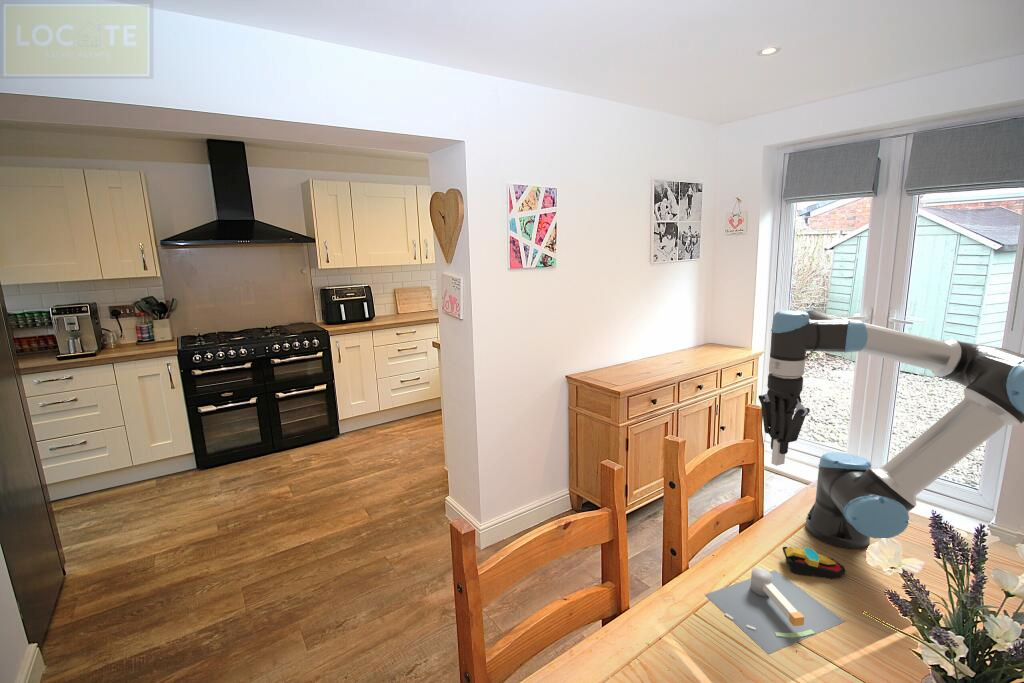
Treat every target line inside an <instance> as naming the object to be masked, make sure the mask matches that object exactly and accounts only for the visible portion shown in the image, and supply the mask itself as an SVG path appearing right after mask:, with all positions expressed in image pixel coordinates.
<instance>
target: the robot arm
mask: <svg viewBox="0 0 1024 683" xmlns="http://www.w3.org/2000/svg"><path fill="white" fill-rule="evenodd" d="M772 318H773V319H772V324H771V329H770V332H771V336H770V337H771V338H770V352H769V363H768V372H769V374H768V375H767V384H766V386H767V388H768V390H767V391H766V393H764V394H760V395H758V400H759V402H760V405H761V412H762V420H763V422H762V423H763V430H764V433H765V434H768V435H769V437H770V438H771V440H770V449H771V451H772V452H771V464H772V465H774V466H776V467H777V466H781V465H784V464H785V462H786V460H785V458H786V454H787V453H788V452H789V444H790V443H793V442H796V441H798V438H799V435H800V432H801V430H802V427H803V424H804V421H805V419H806V417H807V416H808V414H809V413H810V412H811V410H810V408H809V407H805V406H804V404H802V398H801V394H802V391H803V386H804V376H803V375H805V367H806V354H807V352H833V353H853V352H854V353H855V352H858V353H862V354H866V355H870V356H874V357H877V358H882V359H886V360H889V361H894V362H898V363H900V364H901V363H902V364H904V365H909V366H912V367H913V366H914V367H917V368H920V369H925V370H929V371H931V373H932V374H933V375H935V376H936V377H939V378H940V377H941V378H944V379H947V380H950V381H952V382H955V383H957V384H959V385H962V386H964V387H965V388H964V389H963V395H964V398H963V399H962V400H961V401H960V402H959V403H958V404H957V405H956V406H954V407H953V408H952V409H950V411H948V412H947V413H945V414H944V416H942V417H941V418H940V419H938V420H937V421H936V422H935V423H933V424H932V425H931V426H930V427H928V429H926V430H925V431H923V433H922V434H920V435H919V436H918V437H917V438H915V439H914V440H913V441H912V442H911V443H910V444H909V445H907V446H906V447H905V448H904V449H902V450H901V451H899V452H898V453H897V454H896V455H895V456H893V458H891V459H890V460H889V461H887V463H886V464H884V465H883V466H882V467H872V463H871V461H870V460H869V459H866V458H865V457H863V456H859V455H855V454H852V453H844V452H827V453H825V454H822V455H821V456H820V458H819V459H820V460H819V462H818V473H817V481H816V482H817V483H816V491H815V492H816V493H815V501H814V502H813V504H812V506H811V508H810V510H809V512H808V513H807V515H806V519H805V527H806V529H807V531H808V532H809V533H810V534H811V535H812V536H813V537H815V538H816V539H818V540H820V541H822V542H824V543H826V544H828V545H830V546H831V545H832V546H835V547H838V548H843V549H852V550H853V549H855V550H857V549H863V548H865V547H866V546H868V545H870V540H871V538H872V539H881V538H886V539H891V538H894V537H897V536H899V535H900V534H901V535H902V533H904V532H905V531H906V530H907V528H908V526H909V525H910V524H909V521H910V515H909V512H910V511H911V510H913V509H914V508H915V507H917V499H916V498H917V496H918V495H919V494H920V493H921V492H922V491H924V490H925V489H926V488H928V487H929V486H930V485H932V484H933V483H934V482H935V481H937V480H938V479H939V478H940V477H942V476H943V475H944V474H945V473H946V472H948V471H949V470H951V469H952V468H953V467H954V466H956V465H957V464H959V462H960V461H962V460H963V459H964V458H966V457H967V456H969V454H971V453H972V452H973V451H974V450H976V449H977V448H978V447H980V446H981V445H982V444H983V443H985V442H986V441H987V440H988V439H990V438H992V437H993V435H994V434H996V433H997V432H998V431H1000V430H1001V429H1002V428H1003V427H1005V426H1021V424H1023V423H1024V354H1022V353H1019V352H1017V351H1016V352H1015V351H1013V350H1009V349H1007V348H1003V347H996V346H990V345H986V344H985V345H983V344H975V343H969V342H964V341H960V340H955V339H946V340H944V341H943V340H942V341H941V340H937V339H933V338H929V337H925V336H920V335H917V334H913V333H908V332H905V331H901V330H896V329H891V328H887V327H885V326H879V325H876V324H870V323H867V322H863V321H861V320H858V319H857V320H856V319H850V318H846V317H842V316H837V315H833V314H830V313H825V312H822V311H820V310H817V309H809V308H808V309H804V310H780V311H777V312H776V313H774V315H773V317H772Z"/></svg>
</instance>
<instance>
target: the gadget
mask: <svg viewBox="0 0 1024 683" xmlns="http://www.w3.org/2000/svg"><path fill="white" fill-rule="evenodd" d="M782 552H783V554H784V557H785V560H786V563H787V565H788V567H789V570H790V572H791V573H792V574H797V575H801V576H807V577H816V578H817V577H818V578H824V579H830V580H833V579H835V578H838V579H839V578H841V577H842V576H844V575H846V572H847V569H846V568H845V566H844V565H842V564H841V563H839V562H838V561H837V560H835V559H834V558H832V557H827V556H826V555H822V554H820V553H818V552H816V550H815V549H814V548H812V547H809V546H804V547H803V549H802V548H798V547H793V546H788V547H787V546H783V547H782Z"/></svg>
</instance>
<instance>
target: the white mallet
mask: <svg viewBox="0 0 1024 683" xmlns="http://www.w3.org/2000/svg"><path fill="white" fill-rule="evenodd" d="M750 575H751V576H750V579H751V586H750V587H751V590H752V591H753V592H754V593H756V594H758V595H761V596H769V597H770V598H771V600H772V601H773V602H774V603H775V604H776V605H777V606H778V607H779V609H780V610H781V611H782V612H783V613H784V614H785V615H786V617H787V618H788V619H789V621H790V623H791V624H792V625H793V626H801V625H804V616H803V615H802V614H801V613H800V612H798V611H797V610H796V609H795V608H794V607H793V606H792V605H791V603H790V602H789V601H788V600H787V599H786V598H785V597H784V596H783V595H782V594H781V593H780V592H779V591H778V589H777V588H776V587H775V586H774V585H773V584H772V579H773V577H772V574H771V573H770V571H768V570H767V569H764V568H759V567H757V568H753V569H752V570H751V574H750Z"/></svg>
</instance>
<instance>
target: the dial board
mask: <svg viewBox="0 0 1024 683" xmlns="http://www.w3.org/2000/svg"><path fill="white" fill-rule="evenodd" d="M769 572H770V573H771V574H772V577H773V579H772V584H773V585H774V586H775V587H776V588H777V589H778V591H779V592H780V593H781V594H782V595H783V596H784V597H785V598H786V599H787V600H788V601H789V602H790V603H791V605H792V606H793V607H794V608H795V609H796V610H797V611H798V612H800V613H801V614H802V615H803V616H804V625H801V626H793V625H792V624H791V623H790V621H789V619H788V618H787V617H786V615H785V614H784V613H783V612H782V611H781V610H780V609H779V607H778V606H777V605H776V604H775V603H774V602H773V601H772V600H771V598H770V597H769V596H761V595H758V594H756V593H754V592H753V591H752V590H751V587H750V586H751V578H748V579H746V580H742V581H740V582H737V583H734V584H730V585H728V586H725V587H723V588H720V589H717V590H713V591H711V592H707V593H706V594H704V596H705V597H706V598H707V599H708V600H709V601H710V602H712V604H714V605H715V606H716V607H717V608H718V609H719V610H721V612H722V613H723V614H724V616H726V617H727V618H728V619H730V620H731V621H732V622H733V623H734V624H735V625H736V626H737V627H738V628H739V629H741V631H743V632H744V633H745V634H746V635H747V636H748V637H749V638H750V639H751V640H752V641H754V642H755V644H756V645H758V647H760V648H761V649H762V650H763V651H764V652H765V653H766V655H770V654H772V653H775V652H777V651H779V650H782V649H785V648H788V647H789V646H791V645H794V644H796V643H798V642H800V641H801V642H802V641H804V640H805V639H807V638H810V637H812V636H815V635H817V634H820V633H821V632H823V631H826V630H828V629H832V628H833V627H836V626H839V625H840V624H842V623H843V624H844V623H845V622H846V620H844V619H843V618H841V617H840V616H839V615H837V614H836V613H835V612H834V611H832V610H830V609H829V608H828V607H826V605H823V603H821V602H819V601H818V600H817V599H815V598H814V597H813V596H811V595H810V594H808V593H807V592H806V591H804V590H803V589H802V588H800V587H799V586H798V585H797V584H795V583H793V581H791V580H789V579H788V578H787V577H785V576H784V575H783V574H781V573H780V572H778V571H777V570H776V569H774V570H771V571H769Z"/></svg>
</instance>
